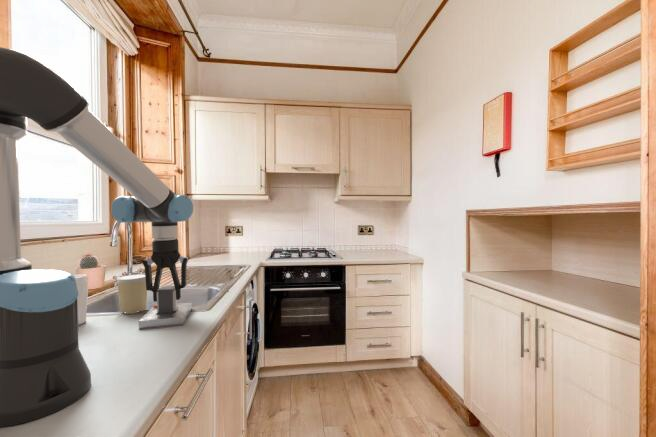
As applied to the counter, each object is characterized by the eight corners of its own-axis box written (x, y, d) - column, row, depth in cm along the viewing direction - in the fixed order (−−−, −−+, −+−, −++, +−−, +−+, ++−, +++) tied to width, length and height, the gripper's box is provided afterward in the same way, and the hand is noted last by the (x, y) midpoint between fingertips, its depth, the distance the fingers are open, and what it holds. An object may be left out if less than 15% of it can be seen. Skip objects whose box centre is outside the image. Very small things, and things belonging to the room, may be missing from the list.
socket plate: (182, 324, 94) (182, 315, 94) (138, 329, 91) (138, 319, 91) (191, 309, 110) (191, 300, 110) (154, 312, 106) (154, 303, 106)
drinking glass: (56, 329, 92) (54, 279, 92) (69, 321, 99) (67, 275, 98) (82, 326, 94) (80, 277, 93) (93, 319, 100) (92, 273, 100)
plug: (172, 313, 98) (171, 289, 98) (158, 315, 97) (158, 290, 97) (176, 309, 103) (175, 285, 103) (163, 310, 102) (162, 286, 102)
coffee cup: (154, 306, 113) (153, 274, 113) (134, 315, 104) (133, 280, 104) (132, 305, 115) (131, 273, 114) (110, 314, 105) (109, 279, 105)
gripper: (195, 237, 106) (197, 304, 106) (139, 239, 101) (142, 309, 102) (191, 238, 98) (193, 311, 99) (131, 241, 94) (134, 316, 95)
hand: (167, 310), depth 100 cm, fingers closed on plug, 4 cm apart
